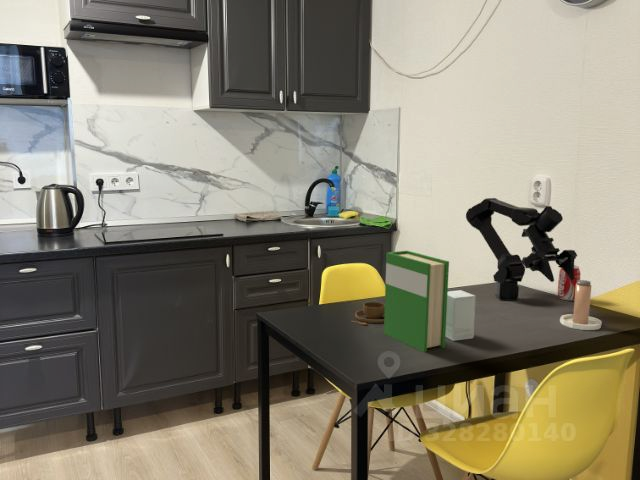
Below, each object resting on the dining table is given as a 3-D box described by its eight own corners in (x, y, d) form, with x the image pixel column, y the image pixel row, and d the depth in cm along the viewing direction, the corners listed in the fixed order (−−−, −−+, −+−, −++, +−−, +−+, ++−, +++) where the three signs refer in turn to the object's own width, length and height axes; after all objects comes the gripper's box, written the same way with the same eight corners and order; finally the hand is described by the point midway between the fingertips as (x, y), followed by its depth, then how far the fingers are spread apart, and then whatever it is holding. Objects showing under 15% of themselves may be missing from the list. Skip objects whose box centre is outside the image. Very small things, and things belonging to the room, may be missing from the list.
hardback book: (444, 347, 167) (449, 261, 163) (424, 352, 164) (427, 264, 160) (403, 329, 182) (406, 250, 178) (383, 333, 178) (386, 252, 174)
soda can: (552, 297, 222) (555, 264, 220) (569, 295, 224) (571, 263, 222) (566, 302, 215) (568, 268, 213) (582, 300, 217) (585, 267, 215)
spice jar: (573, 323, 188) (576, 282, 186) (572, 319, 192) (575, 279, 190) (588, 325, 187) (592, 283, 185) (587, 321, 191) (591, 280, 189)
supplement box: (474, 338, 175) (476, 295, 173) (452, 341, 172) (454, 297, 170) (459, 330, 182) (461, 289, 180) (437, 333, 179) (439, 291, 177)
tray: (569, 330, 184) (570, 325, 184) (554, 318, 195) (554, 314, 195) (607, 330, 184) (608, 325, 184) (590, 318, 195) (591, 314, 195)
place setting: (377, 310, 204) (378, 293, 203) (427, 323, 190) (428, 305, 189) (341, 320, 192) (342, 302, 191) (391, 335, 178) (392, 316, 177)
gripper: (544, 253, 213) (566, 291, 205) (505, 255, 204) (526, 295, 196) (566, 234, 205) (589, 273, 197) (525, 235, 196) (548, 277, 188)
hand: (563, 280), depth 195 cm, fingers open, 9 cm apart
